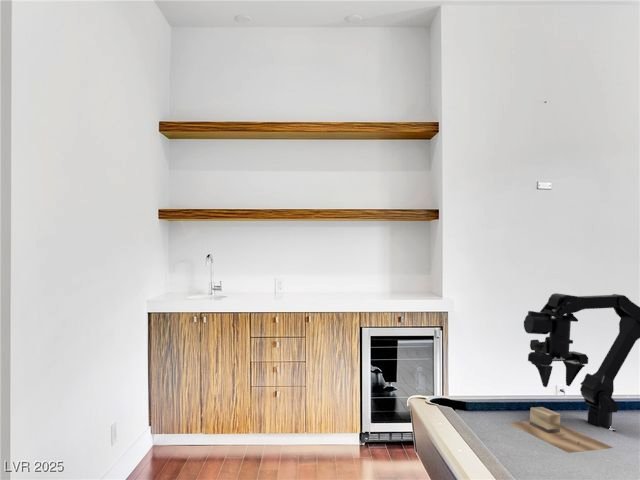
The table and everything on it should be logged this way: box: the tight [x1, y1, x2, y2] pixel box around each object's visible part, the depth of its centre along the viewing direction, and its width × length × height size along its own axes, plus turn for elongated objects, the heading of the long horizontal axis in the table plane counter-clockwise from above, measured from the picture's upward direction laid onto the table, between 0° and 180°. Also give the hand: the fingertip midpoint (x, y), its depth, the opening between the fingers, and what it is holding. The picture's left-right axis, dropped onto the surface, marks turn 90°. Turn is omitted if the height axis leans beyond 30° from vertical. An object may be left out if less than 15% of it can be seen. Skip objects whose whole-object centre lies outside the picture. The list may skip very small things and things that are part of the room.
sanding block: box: [529, 406, 561, 433], centre depth 148 cm, size 4×7×5 cm, turn 21°
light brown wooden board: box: [508, 420, 614, 454], centre depth 143 cm, size 16×22×1 cm
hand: (556, 386), depth 154 cm, fingers open, 9 cm apart
